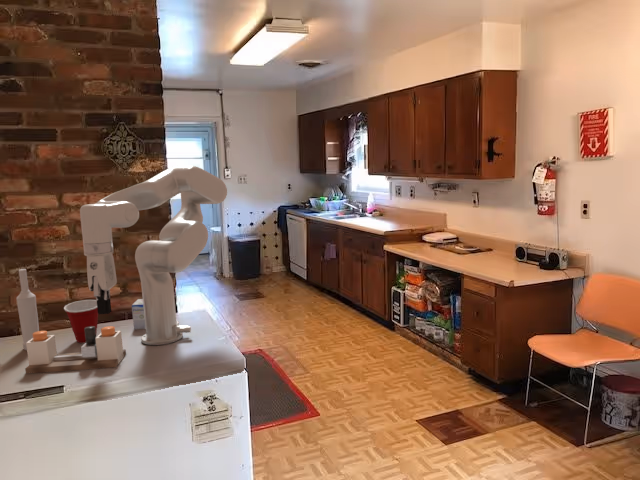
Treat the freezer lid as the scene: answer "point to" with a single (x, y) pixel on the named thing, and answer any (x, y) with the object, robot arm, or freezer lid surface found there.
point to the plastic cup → (82, 317)
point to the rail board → (72, 363)
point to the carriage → (89, 343)
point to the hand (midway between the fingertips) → (104, 313)
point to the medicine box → (138, 315)
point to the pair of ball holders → (47, 351)
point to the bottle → (27, 309)
